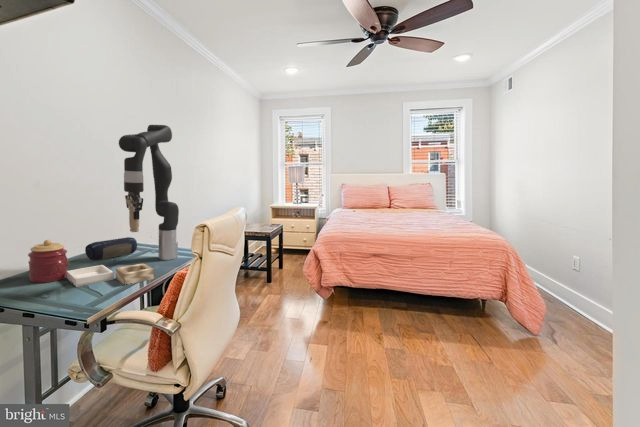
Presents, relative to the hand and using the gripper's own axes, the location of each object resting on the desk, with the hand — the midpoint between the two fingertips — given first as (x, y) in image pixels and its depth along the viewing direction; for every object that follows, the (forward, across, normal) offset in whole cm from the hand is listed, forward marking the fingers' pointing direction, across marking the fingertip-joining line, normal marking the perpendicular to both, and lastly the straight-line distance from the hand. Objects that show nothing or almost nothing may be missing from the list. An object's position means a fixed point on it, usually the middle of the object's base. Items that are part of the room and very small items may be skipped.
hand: (134, 218), depth 138 cm
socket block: (+29, 0, 0) cm, 29 cm away
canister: (+29, +24, +26) cm, 46 cm away
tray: (+29, +12, +14) cm, 34 cm away
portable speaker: (+29, +42, -5) cm, 52 cm away
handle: (+6, 0, 0) cm, 6 cm away
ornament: (+29, +37, +20) cm, 51 cm away
